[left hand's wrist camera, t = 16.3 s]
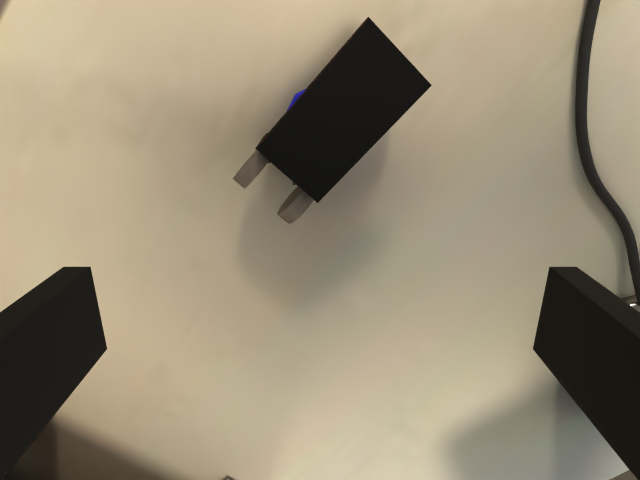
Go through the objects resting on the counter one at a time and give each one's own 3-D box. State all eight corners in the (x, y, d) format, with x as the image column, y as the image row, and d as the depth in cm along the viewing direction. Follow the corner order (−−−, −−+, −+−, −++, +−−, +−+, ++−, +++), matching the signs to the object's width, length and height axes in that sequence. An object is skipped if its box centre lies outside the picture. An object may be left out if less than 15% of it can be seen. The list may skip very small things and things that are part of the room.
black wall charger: (301, 206, 40) (421, 77, 34) (289, 241, 33) (438, 87, 27) (243, 158, 38) (360, 15, 33) (219, 184, 31) (361, 9, 26)
